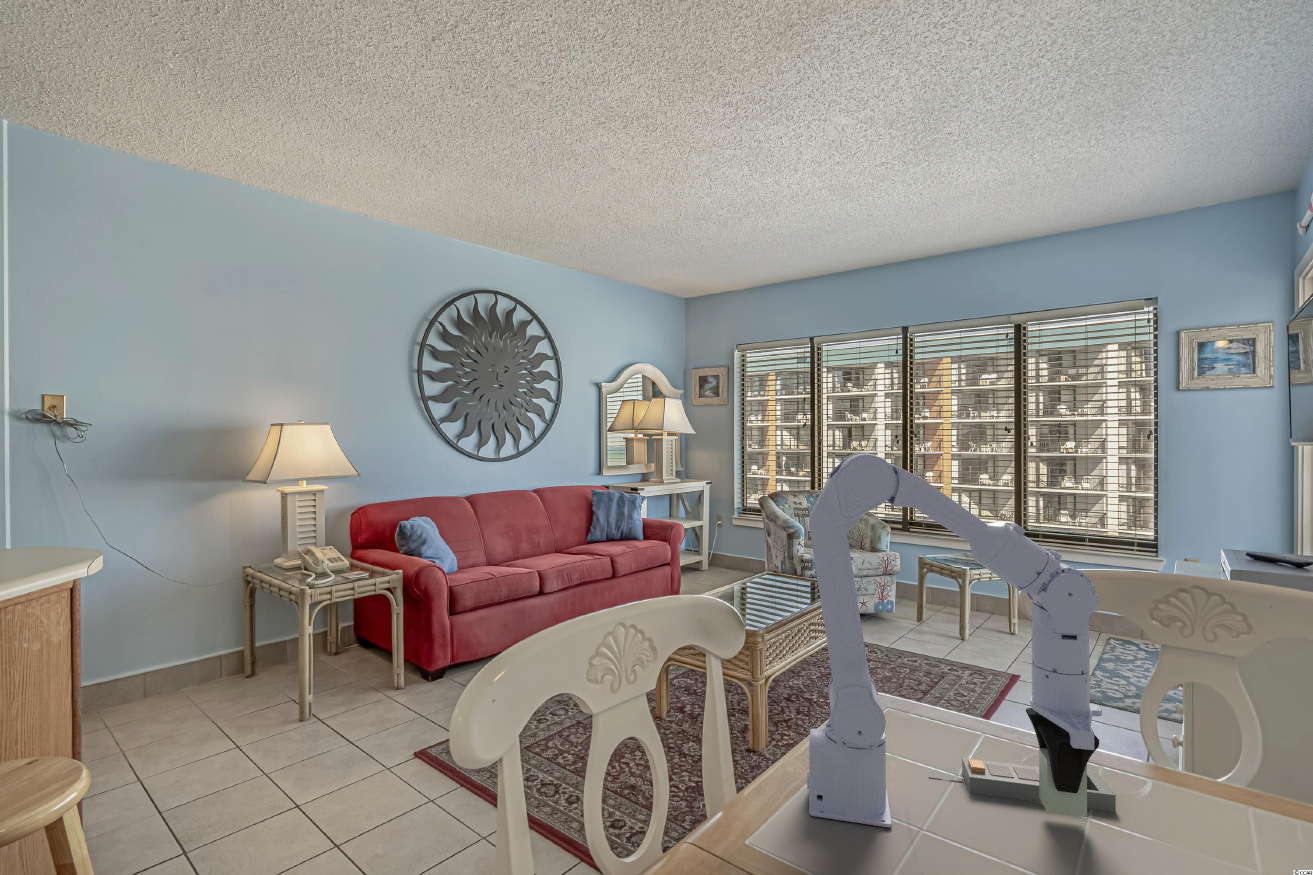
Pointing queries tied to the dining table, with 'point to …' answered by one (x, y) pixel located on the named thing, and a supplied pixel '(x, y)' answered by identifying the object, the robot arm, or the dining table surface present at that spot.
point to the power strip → (1025, 783)
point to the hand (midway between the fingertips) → (1061, 782)
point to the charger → (1057, 799)
